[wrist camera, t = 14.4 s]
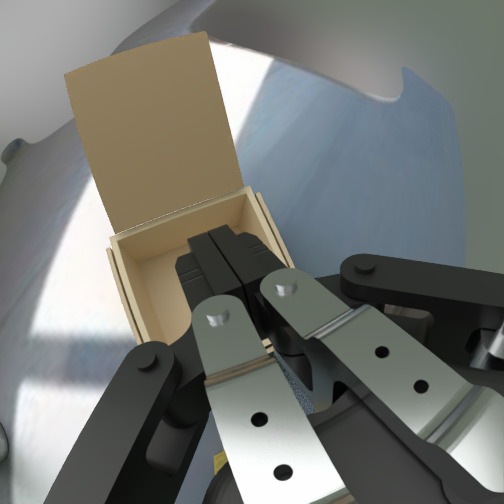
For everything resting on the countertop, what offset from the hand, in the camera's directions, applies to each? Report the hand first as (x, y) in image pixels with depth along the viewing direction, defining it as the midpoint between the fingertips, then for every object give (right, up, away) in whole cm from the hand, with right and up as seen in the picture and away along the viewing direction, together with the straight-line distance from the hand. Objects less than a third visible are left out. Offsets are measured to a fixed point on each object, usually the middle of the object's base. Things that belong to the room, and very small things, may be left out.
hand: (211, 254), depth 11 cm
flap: (-5, +4, +16) cm, 17 cm away
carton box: (-4, -5, +23) cm, 24 cm away
